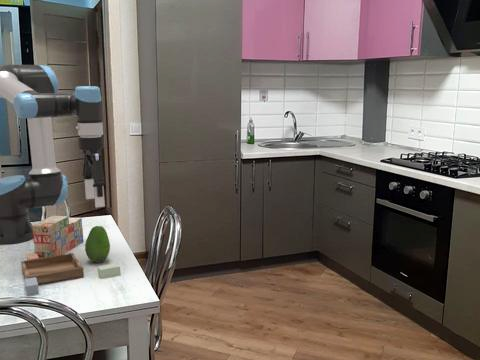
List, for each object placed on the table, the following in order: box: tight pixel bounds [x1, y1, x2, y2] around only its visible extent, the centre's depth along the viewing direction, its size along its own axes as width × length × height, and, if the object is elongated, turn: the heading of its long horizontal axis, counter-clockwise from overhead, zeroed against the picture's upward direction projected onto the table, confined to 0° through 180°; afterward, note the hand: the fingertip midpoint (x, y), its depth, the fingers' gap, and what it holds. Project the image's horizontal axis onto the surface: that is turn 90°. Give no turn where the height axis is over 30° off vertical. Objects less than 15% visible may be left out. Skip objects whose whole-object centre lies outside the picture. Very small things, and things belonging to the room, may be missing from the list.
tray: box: [20, 252, 85, 287], centre depth 151 cm, size 16×16×3 cm
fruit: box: [84, 225, 111, 264], centre depth 161 cm, size 8×8×12 cm
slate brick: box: [24, 277, 40, 297], centre depth 138 cm, size 6×3×3 cm, turn 27°
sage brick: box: [97, 262, 122, 280], centre depth 149 cm, size 6×3×3 cm, turn 118°
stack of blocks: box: [32, 215, 84, 258], centre depth 172 cm, size 21×6×12 cm, turn 170°
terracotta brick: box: [25, 252, 39, 260], centre depth 159 cm, size 6×3×3 cm, turn 29°
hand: (94, 202), depth 158 cm, fingers open, 13 cm apart
